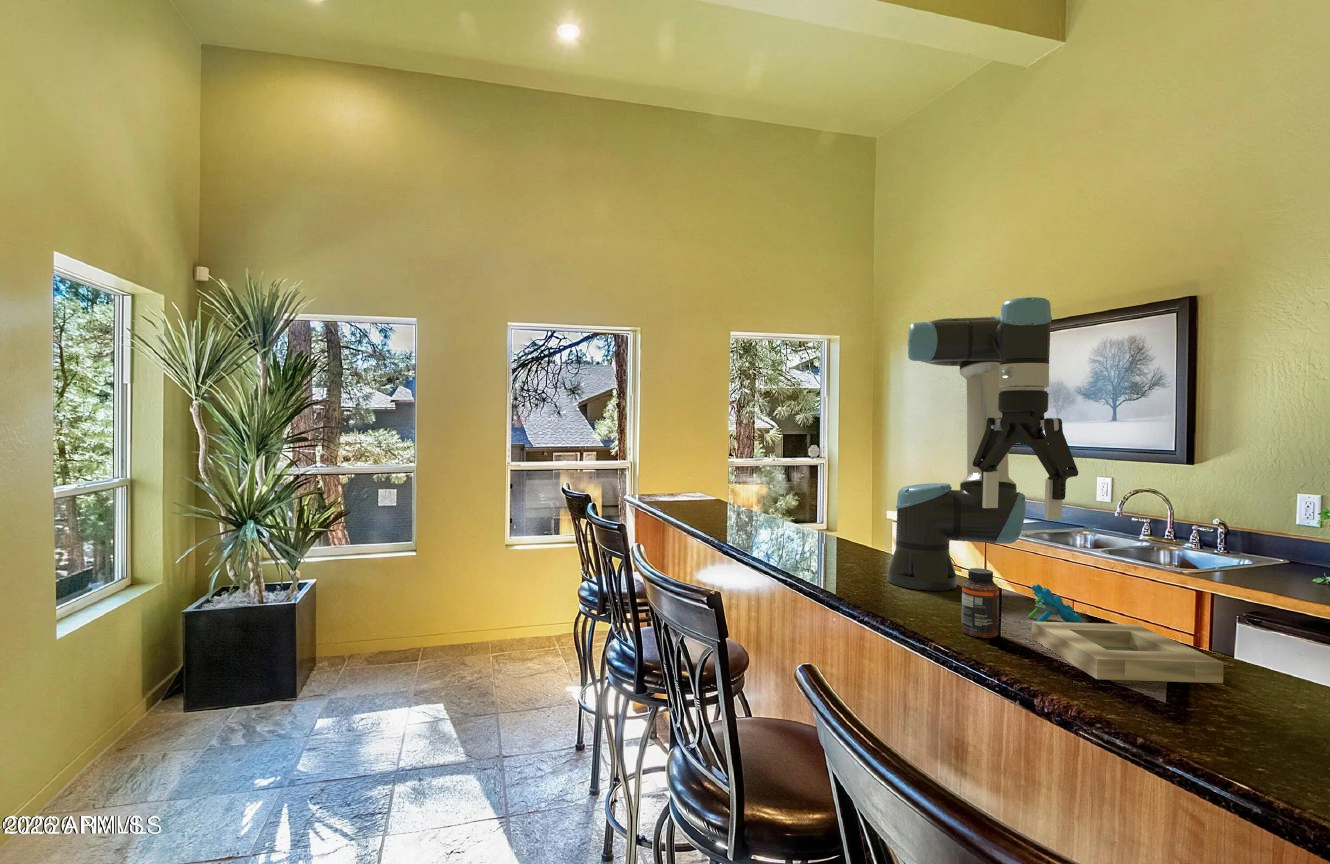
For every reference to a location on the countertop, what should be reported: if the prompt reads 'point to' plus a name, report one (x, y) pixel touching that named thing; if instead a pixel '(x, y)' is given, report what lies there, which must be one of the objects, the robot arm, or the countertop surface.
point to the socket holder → (1126, 652)
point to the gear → (1052, 606)
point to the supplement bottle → (980, 604)
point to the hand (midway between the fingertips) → (1019, 513)
